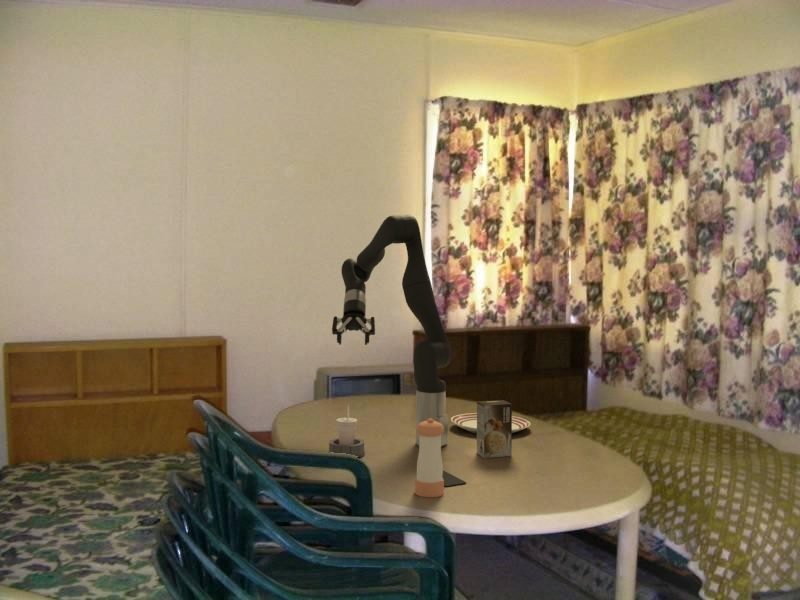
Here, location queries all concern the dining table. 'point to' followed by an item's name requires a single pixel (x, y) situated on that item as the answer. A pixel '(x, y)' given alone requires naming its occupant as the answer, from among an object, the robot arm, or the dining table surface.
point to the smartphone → (451, 480)
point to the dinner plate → (470, 422)
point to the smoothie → (346, 429)
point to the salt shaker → (429, 460)
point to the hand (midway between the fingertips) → (353, 343)
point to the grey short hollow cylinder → (348, 447)
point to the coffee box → (494, 428)
